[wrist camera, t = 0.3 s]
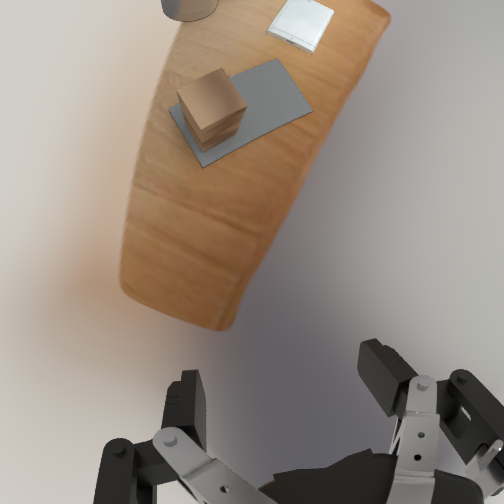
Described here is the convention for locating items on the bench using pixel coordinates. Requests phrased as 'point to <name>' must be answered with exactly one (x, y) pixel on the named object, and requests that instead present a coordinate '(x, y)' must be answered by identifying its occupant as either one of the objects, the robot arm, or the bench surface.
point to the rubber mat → (254, 108)
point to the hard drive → (301, 23)
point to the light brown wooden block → (211, 108)
